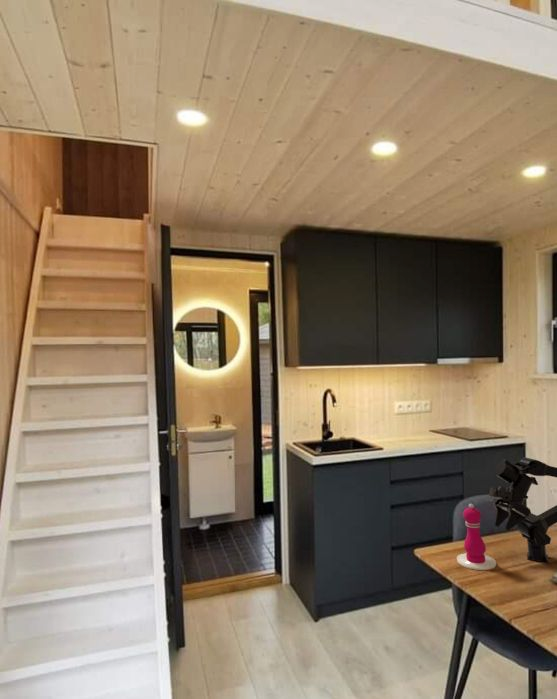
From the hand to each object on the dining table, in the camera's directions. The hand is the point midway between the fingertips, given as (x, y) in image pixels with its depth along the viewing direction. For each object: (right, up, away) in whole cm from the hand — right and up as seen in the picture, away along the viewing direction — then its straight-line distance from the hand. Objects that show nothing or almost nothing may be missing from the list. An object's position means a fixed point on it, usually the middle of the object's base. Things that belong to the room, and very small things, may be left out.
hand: (501, 528), depth 155 cm
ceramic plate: (-9, -13, 0) cm, 15 cm away
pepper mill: (-9, -12, 0) cm, 15 cm away
